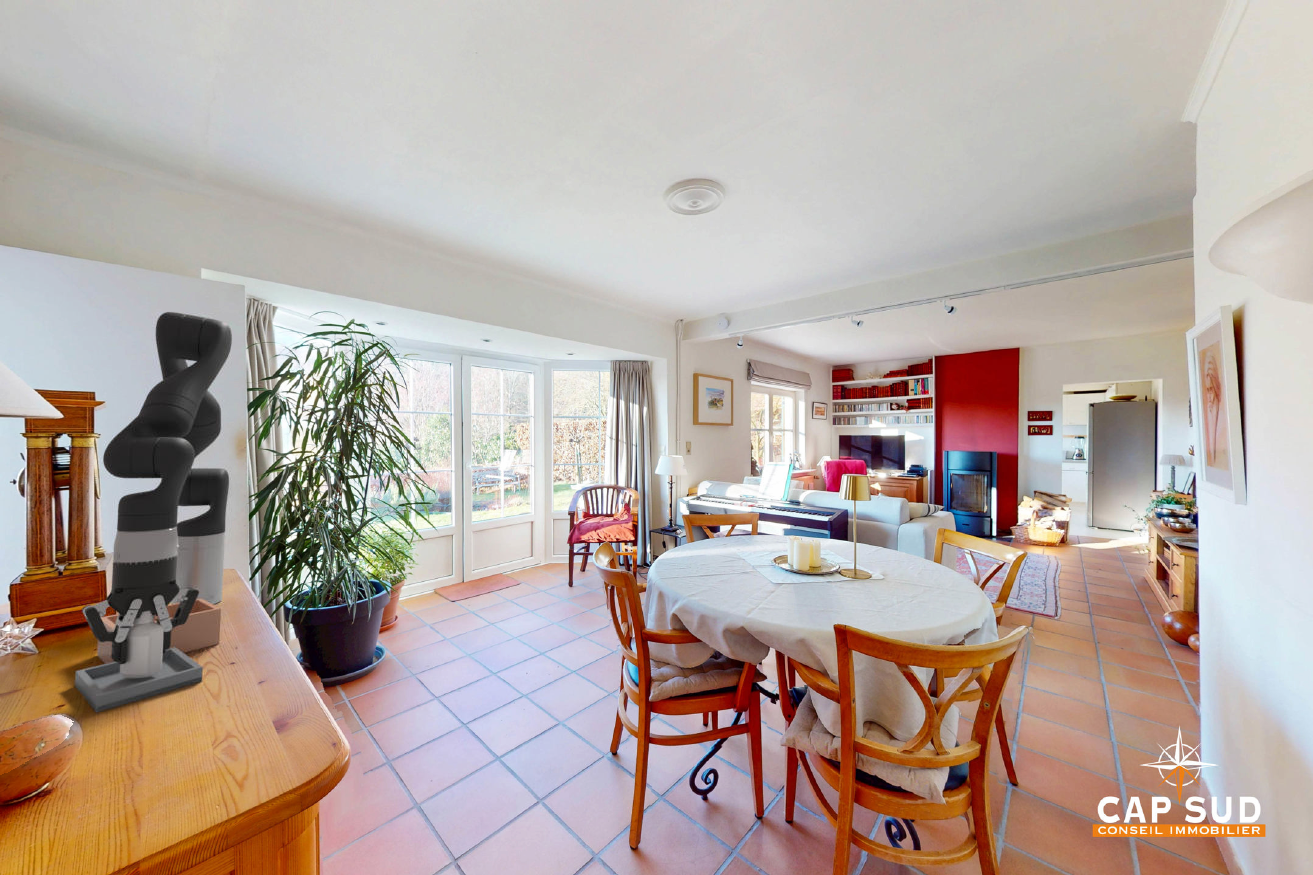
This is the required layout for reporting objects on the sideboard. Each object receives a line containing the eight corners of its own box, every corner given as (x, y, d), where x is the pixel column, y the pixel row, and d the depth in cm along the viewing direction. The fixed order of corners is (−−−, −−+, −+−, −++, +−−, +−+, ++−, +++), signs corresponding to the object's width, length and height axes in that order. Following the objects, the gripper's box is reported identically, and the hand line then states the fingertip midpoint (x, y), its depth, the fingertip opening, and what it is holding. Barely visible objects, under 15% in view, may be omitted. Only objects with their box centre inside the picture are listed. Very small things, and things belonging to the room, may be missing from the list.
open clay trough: (97, 655, 92) (99, 617, 92) (199, 631, 104) (201, 598, 104) (112, 670, 86) (114, 630, 86) (219, 643, 98) (220, 608, 99)
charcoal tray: (74, 685, 81) (75, 671, 81) (174, 659, 91) (175, 646, 91) (96, 712, 73) (97, 696, 73) (201, 681, 83) (202, 666, 84)
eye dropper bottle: (125, 683, 79) (129, 608, 79) (117, 673, 82) (122, 601, 82) (163, 673, 82) (167, 602, 83) (154, 664, 86) (158, 595, 86)
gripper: (194, 545, 90) (189, 639, 90) (76, 559, 78) (70, 667, 78) (209, 551, 87) (204, 649, 86) (87, 567, 74) (81, 680, 74)
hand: (141, 657), depth 82 cm, fingers closed on eye dropper bottle, 4 cm apart
